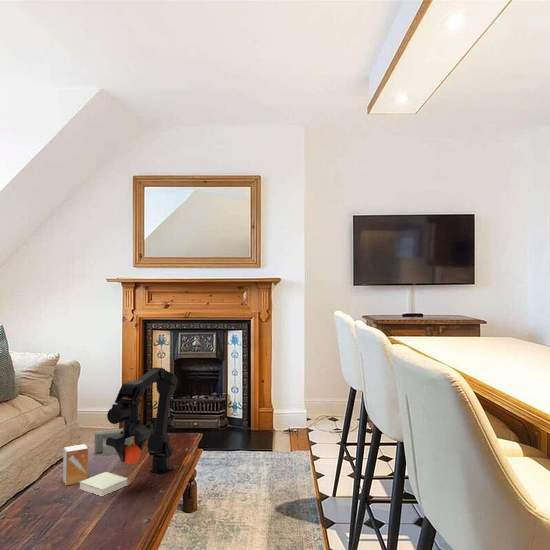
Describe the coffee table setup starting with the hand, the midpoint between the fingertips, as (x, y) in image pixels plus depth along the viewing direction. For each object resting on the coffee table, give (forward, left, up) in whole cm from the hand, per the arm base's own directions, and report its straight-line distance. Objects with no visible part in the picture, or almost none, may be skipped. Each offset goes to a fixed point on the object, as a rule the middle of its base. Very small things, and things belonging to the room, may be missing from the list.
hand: (130, 459), depth 180 cm
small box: (+6, -25, -12) cm, 28 cm away
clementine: (+1, 0, -2) cm, 2 cm away
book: (+4, -10, -12) cm, 16 cm away
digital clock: (-25, -40, -12) cm, 49 cm away
